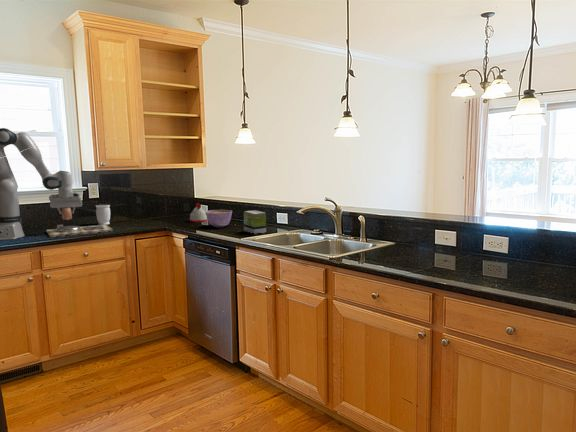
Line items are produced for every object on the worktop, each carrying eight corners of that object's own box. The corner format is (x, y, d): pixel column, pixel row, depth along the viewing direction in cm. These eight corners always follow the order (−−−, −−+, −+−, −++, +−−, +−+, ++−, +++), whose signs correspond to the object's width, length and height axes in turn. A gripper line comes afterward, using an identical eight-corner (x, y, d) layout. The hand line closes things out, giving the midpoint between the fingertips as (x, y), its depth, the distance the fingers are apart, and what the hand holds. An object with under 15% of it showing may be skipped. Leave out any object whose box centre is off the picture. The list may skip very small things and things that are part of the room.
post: (58, 233, 300) (57, 226, 299) (55, 229, 312) (55, 223, 311) (82, 230, 308) (81, 224, 307) (78, 227, 320) (78, 221, 320)
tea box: (243, 231, 313) (243, 211, 311) (255, 230, 319) (255, 209, 317) (254, 234, 301) (254, 213, 299) (266, 233, 307) (266, 212, 305)
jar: (93, 224, 343) (92, 205, 341) (104, 222, 352) (103, 204, 350) (103, 225, 338) (102, 206, 336) (114, 223, 348) (112, 204, 345)
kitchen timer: (193, 223, 351) (192, 204, 348) (187, 220, 362) (186, 202, 360) (209, 221, 358) (209, 203, 356) (203, 219, 370) (202, 201, 367)
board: (50, 237, 292) (49, 234, 292) (46, 231, 312) (46, 229, 312) (113, 231, 314) (112, 228, 314) (106, 226, 334) (105, 224, 334)
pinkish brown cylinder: (72, 219, 305) (71, 208, 304) (63, 220, 302) (61, 209, 301) (71, 217, 313) (70, 206, 311) (62, 218, 310) (61, 207, 308)
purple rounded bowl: (227, 223, 347) (226, 209, 345) (236, 227, 330) (236, 212, 328) (202, 225, 338) (202, 210, 336) (210, 229, 320) (210, 214, 319)
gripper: (49, 194, 298) (50, 215, 300) (82, 194, 309) (83, 213, 311) (48, 194, 303) (49, 214, 305) (80, 193, 314) (81, 212, 316)
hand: (66, 213), depth 308 cm, fingers closed on pinkish brown cylinder, 6 cm apart
